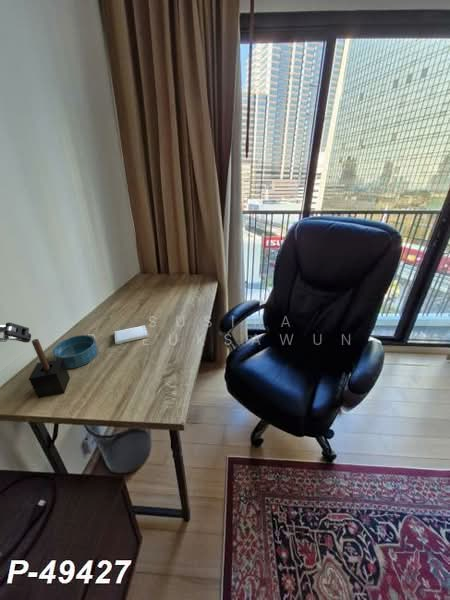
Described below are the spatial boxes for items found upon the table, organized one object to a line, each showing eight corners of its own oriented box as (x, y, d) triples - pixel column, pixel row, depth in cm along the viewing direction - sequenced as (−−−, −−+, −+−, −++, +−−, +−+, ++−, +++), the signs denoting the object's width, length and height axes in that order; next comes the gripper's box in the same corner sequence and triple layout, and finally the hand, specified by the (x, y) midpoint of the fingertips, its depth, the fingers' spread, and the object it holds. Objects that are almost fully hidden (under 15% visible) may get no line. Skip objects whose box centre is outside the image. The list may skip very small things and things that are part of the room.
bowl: (52, 373, 84) (47, 360, 82) (63, 350, 96) (59, 338, 93) (95, 365, 88) (91, 353, 85) (100, 344, 99) (97, 332, 97)
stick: (51, 390, 78) (30, 342, 70) (52, 386, 79) (32, 339, 71) (57, 389, 78) (37, 341, 70) (58, 385, 80) (39, 338, 72)
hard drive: (114, 341, 98) (147, 334, 102) (114, 331, 104) (144, 324, 109) (115, 345, 98) (148, 337, 103) (115, 334, 105) (145, 327, 109)
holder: (38, 398, 75) (28, 378, 71) (45, 382, 81) (37, 362, 77) (64, 393, 76) (56, 373, 73) (70, 377, 83) (62, 358, 79)
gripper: (-7, 302, 48) (43, 322, 63) (-92, 308, 46) (-20, 327, 62) (-15, 341, 46) (39, 352, 61) (-105, 348, 44) (-26, 358, 59)
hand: (9, 339), depth 61 cm, fingers open, 8 cm apart
